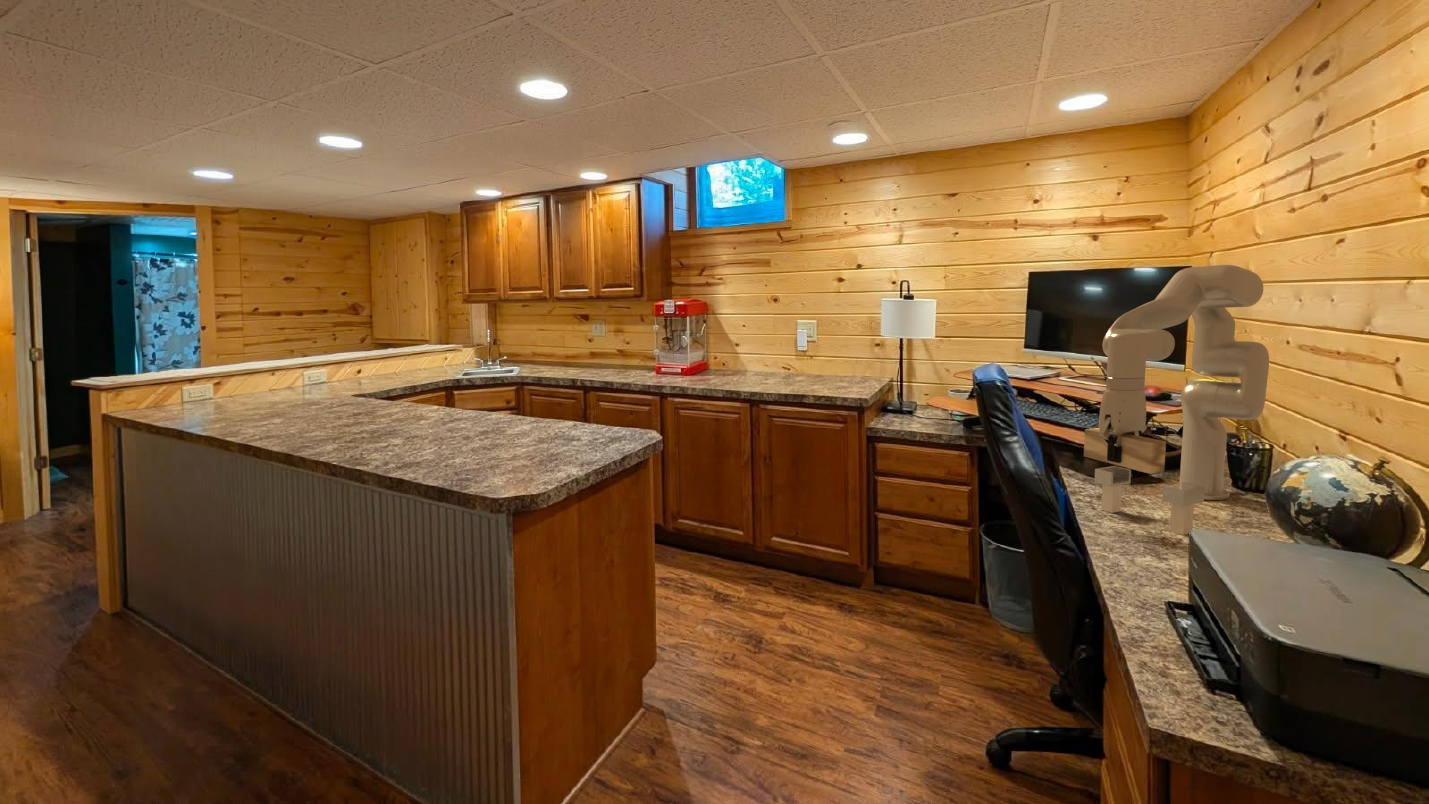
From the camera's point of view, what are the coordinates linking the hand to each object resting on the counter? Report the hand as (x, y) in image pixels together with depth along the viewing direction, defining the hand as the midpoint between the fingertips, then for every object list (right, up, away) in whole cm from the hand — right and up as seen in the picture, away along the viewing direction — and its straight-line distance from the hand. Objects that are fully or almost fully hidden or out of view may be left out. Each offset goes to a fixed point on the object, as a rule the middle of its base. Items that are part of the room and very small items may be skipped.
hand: (1121, 459), depth 147 cm
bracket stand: (+9, -16, +5) cm, 19 cm away
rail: (0, -1, 0) cm, 1 cm away
